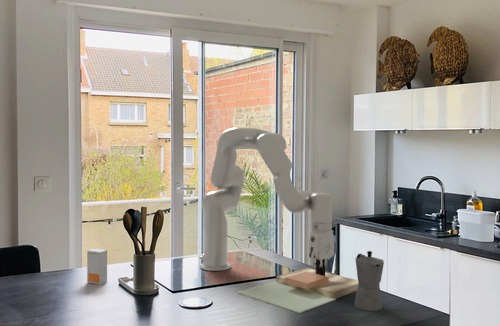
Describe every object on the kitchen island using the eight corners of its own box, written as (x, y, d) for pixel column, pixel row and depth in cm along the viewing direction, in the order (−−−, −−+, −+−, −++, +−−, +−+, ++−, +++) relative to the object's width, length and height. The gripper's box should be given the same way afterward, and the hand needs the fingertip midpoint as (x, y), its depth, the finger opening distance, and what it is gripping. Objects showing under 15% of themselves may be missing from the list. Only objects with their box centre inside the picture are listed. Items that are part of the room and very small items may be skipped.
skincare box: (86, 282, 191) (86, 250, 190) (94, 279, 194) (94, 248, 194) (100, 284, 188) (100, 252, 188) (107, 281, 192) (107, 249, 192)
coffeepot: (391, 312, 163) (393, 255, 162) (363, 314, 160) (365, 256, 159) (369, 297, 178) (370, 244, 177) (343, 298, 175) (344, 245, 174)
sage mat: (237, 292, 181) (237, 291, 181) (274, 282, 194) (274, 281, 194) (299, 313, 161) (299, 312, 161) (336, 300, 174) (336, 298, 174)
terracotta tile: (285, 283, 184) (285, 277, 184) (306, 276, 193) (306, 271, 193) (307, 289, 177) (307, 283, 177) (328, 282, 186) (328, 276, 186)
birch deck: (276, 282, 193) (276, 276, 193) (307, 274, 206) (307, 267, 206) (333, 299, 175) (333, 291, 175) (363, 288, 187) (363, 281, 187)
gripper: (316, 230, 181) (316, 282, 182) (341, 225, 192) (340, 274, 193) (300, 228, 187) (299, 278, 188) (325, 223, 197) (324, 271, 198)
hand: (320, 276), depth 190 cm, fingers closed
